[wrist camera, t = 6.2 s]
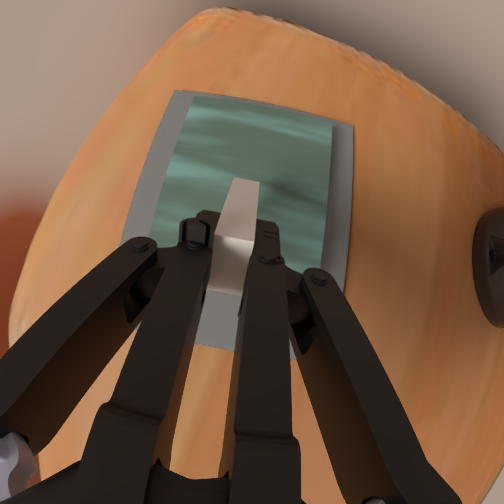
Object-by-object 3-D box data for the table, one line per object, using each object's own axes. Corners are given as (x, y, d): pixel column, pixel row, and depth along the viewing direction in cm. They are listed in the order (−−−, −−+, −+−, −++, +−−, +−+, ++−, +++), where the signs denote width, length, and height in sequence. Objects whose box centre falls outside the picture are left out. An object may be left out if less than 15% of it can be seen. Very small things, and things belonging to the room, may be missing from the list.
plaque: (152, 261, 21) (196, 112, 23) (307, 290, 21) (323, 137, 24) (143, 255, 18) (194, 95, 21) (317, 288, 19) (332, 123, 22)
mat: (175, 93, 24) (174, 90, 24) (350, 129, 25) (353, 126, 25) (107, 320, 20) (104, 320, 19) (328, 361, 21) (331, 363, 20)
